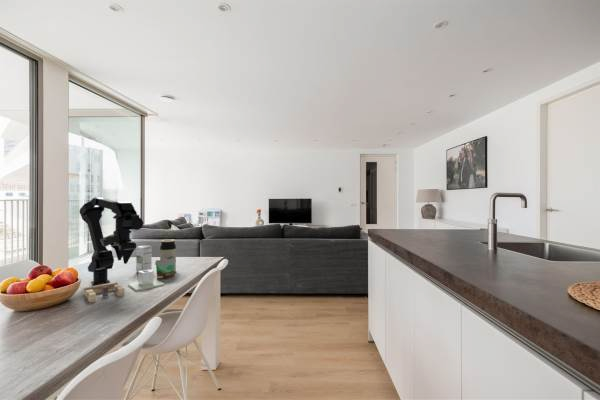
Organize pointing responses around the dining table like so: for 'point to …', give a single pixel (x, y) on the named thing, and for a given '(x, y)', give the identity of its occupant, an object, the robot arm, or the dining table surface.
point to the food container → (165, 268)
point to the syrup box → (143, 258)
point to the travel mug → (168, 250)
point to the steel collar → (146, 277)
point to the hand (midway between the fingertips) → (122, 261)
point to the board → (138, 287)
